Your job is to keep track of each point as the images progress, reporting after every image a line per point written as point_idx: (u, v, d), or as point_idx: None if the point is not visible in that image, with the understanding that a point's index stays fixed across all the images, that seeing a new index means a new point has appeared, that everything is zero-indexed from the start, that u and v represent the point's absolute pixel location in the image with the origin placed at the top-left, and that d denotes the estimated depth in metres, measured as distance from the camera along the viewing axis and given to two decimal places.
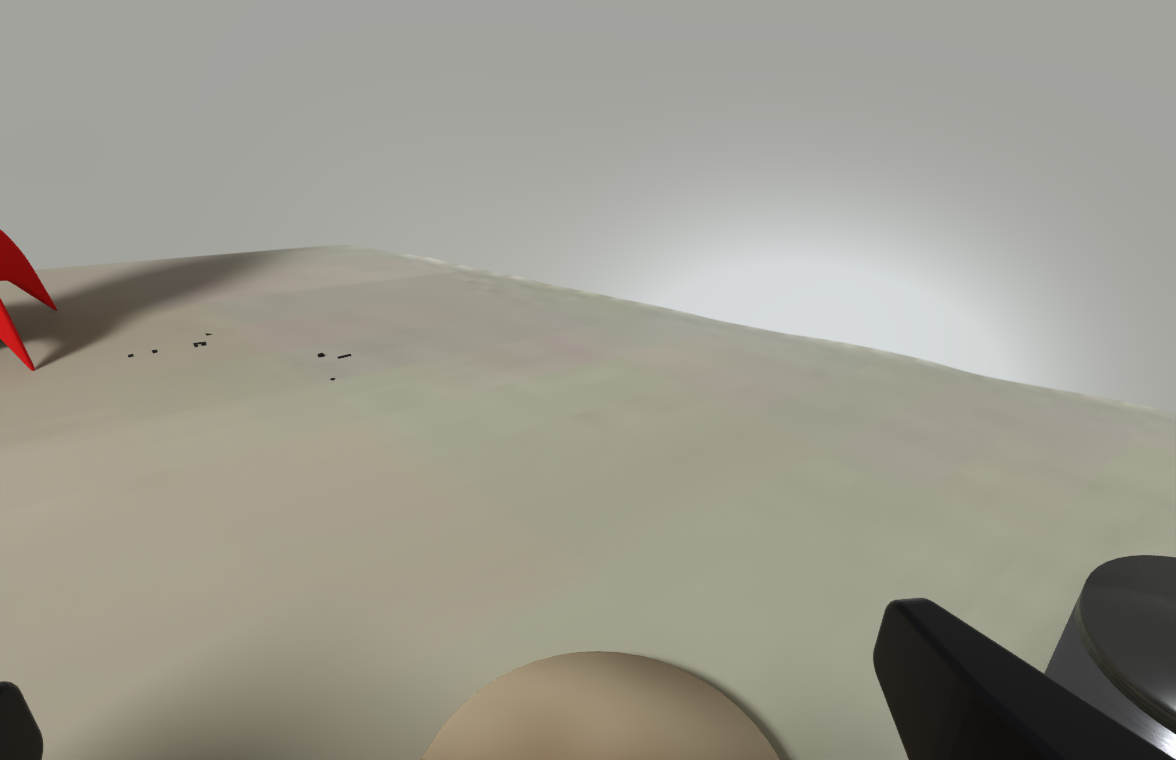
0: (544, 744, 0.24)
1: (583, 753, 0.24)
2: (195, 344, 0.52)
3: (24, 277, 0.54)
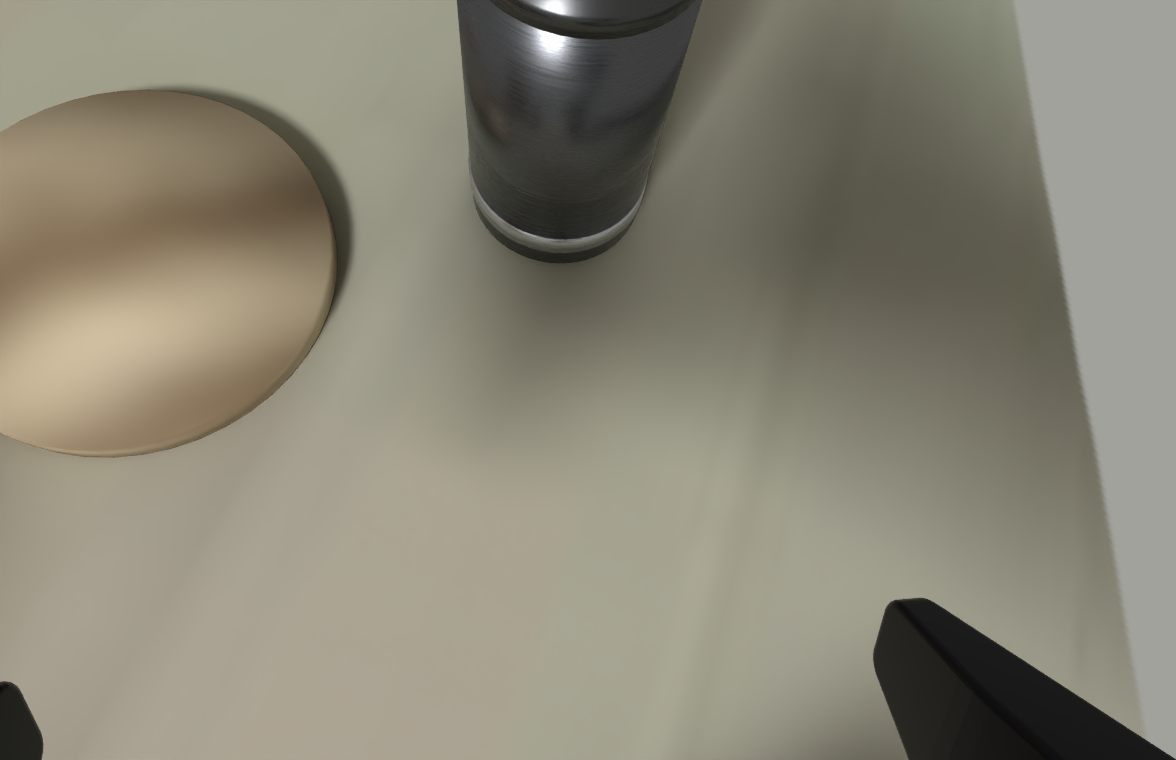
0: (40, 217, 0.22)
1: (87, 210, 0.22)
2: None
3: None
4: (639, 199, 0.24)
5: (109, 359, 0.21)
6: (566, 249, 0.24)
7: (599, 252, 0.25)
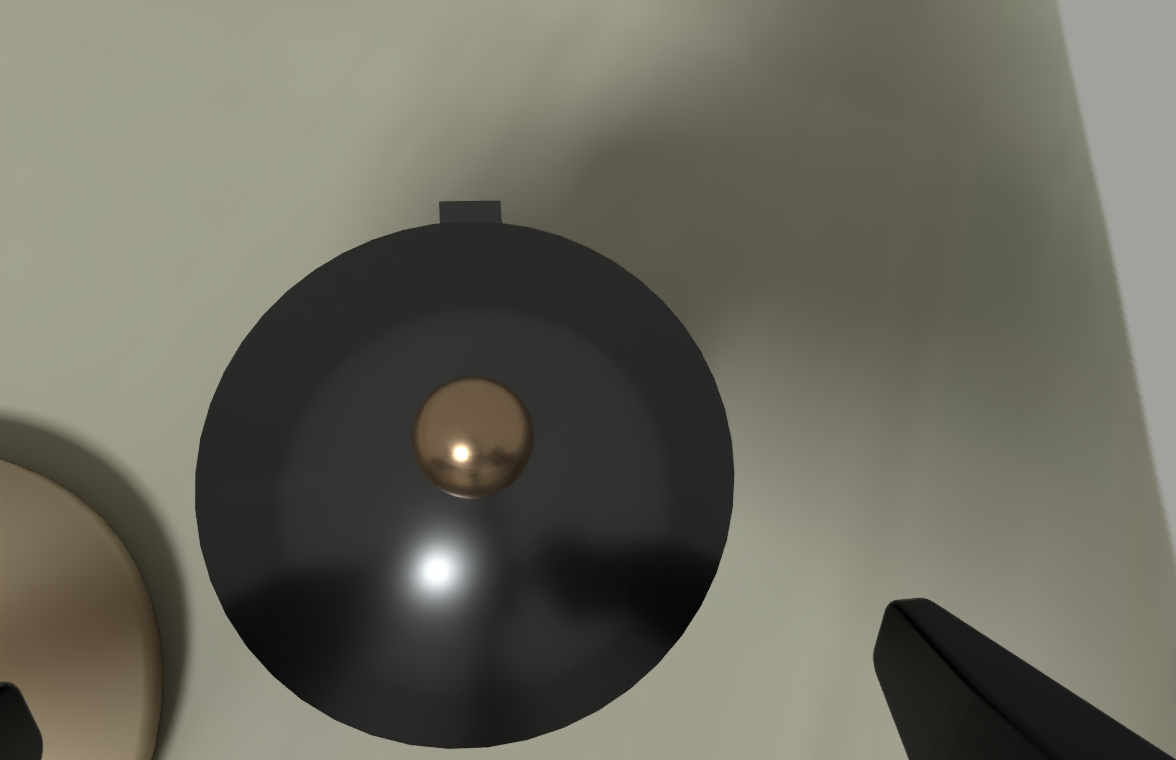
0: None
1: None
2: None
3: None
4: None
5: None
6: None
7: None
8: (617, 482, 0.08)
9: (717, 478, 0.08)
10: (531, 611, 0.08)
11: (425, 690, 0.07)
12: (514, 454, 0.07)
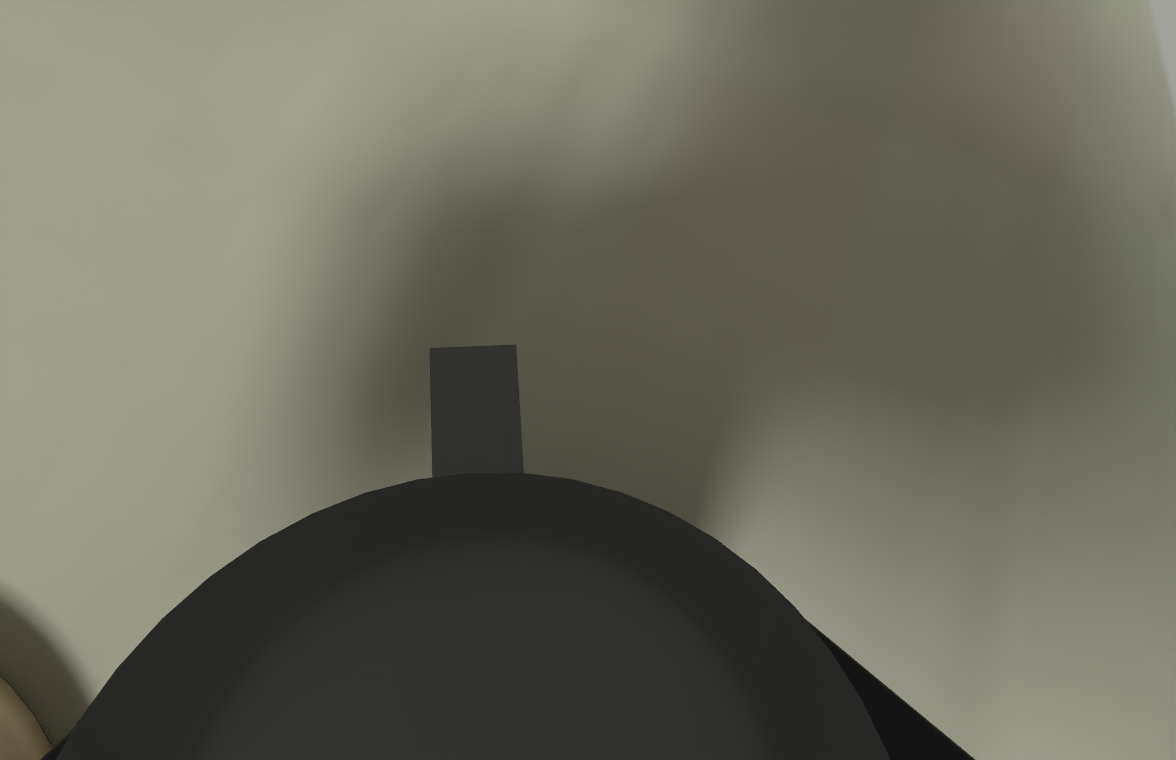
0: None
1: None
2: None
3: None
4: None
5: None
6: None
7: None
8: None
9: None
10: None
11: None
12: None
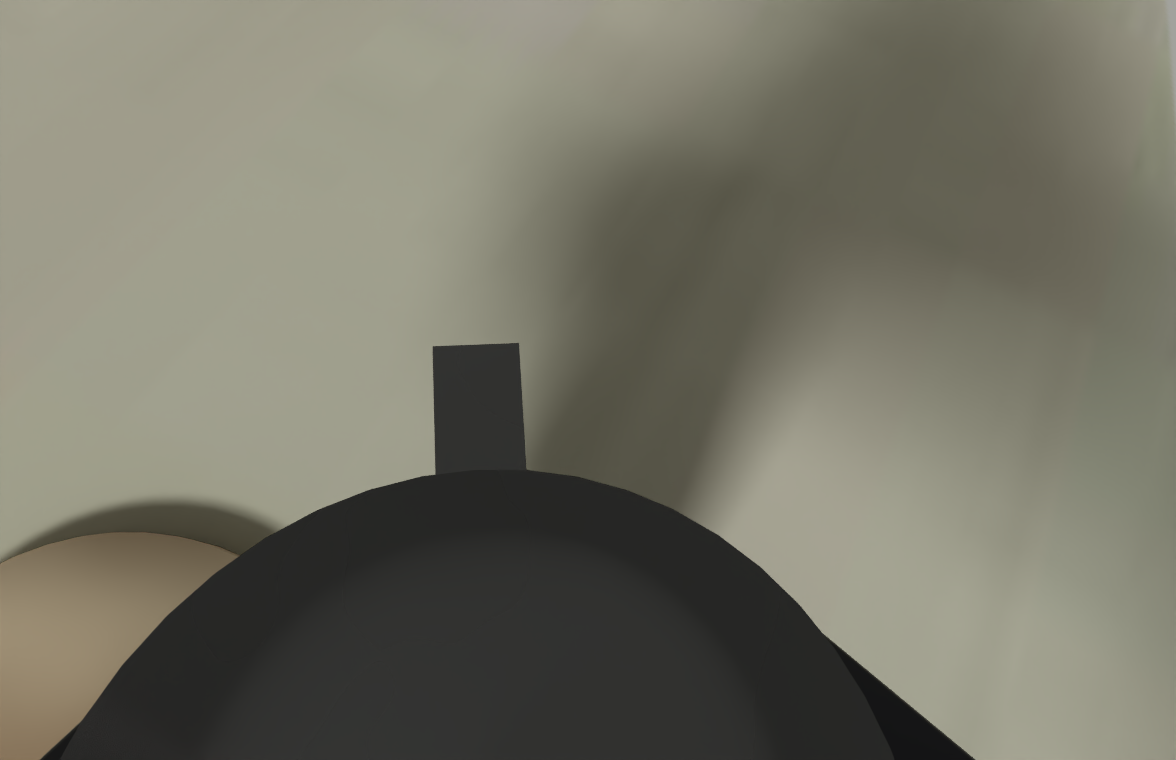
0: None
1: (47, 717, 0.18)
2: None
3: None
4: None
5: None
6: None
7: None
8: None
9: None
10: None
11: None
12: None
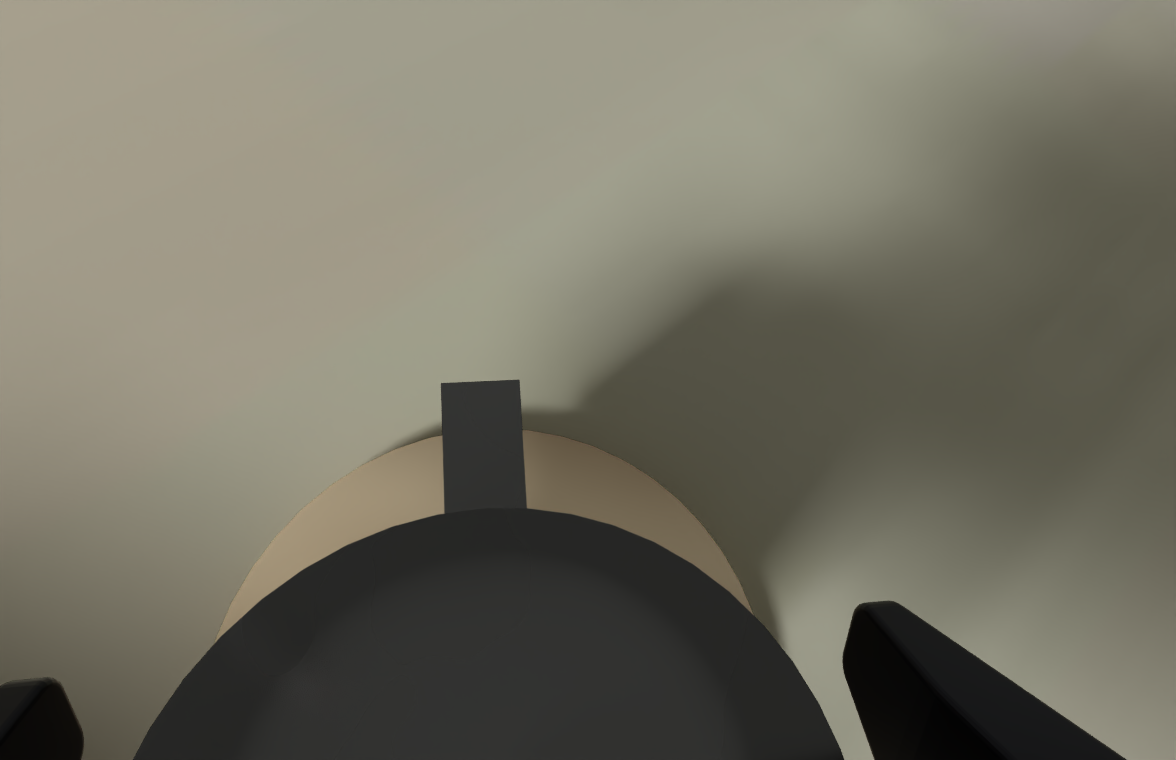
0: None
1: None
2: None
3: None
4: None
5: None
6: None
7: None
8: None
9: None
10: None
11: None
12: None
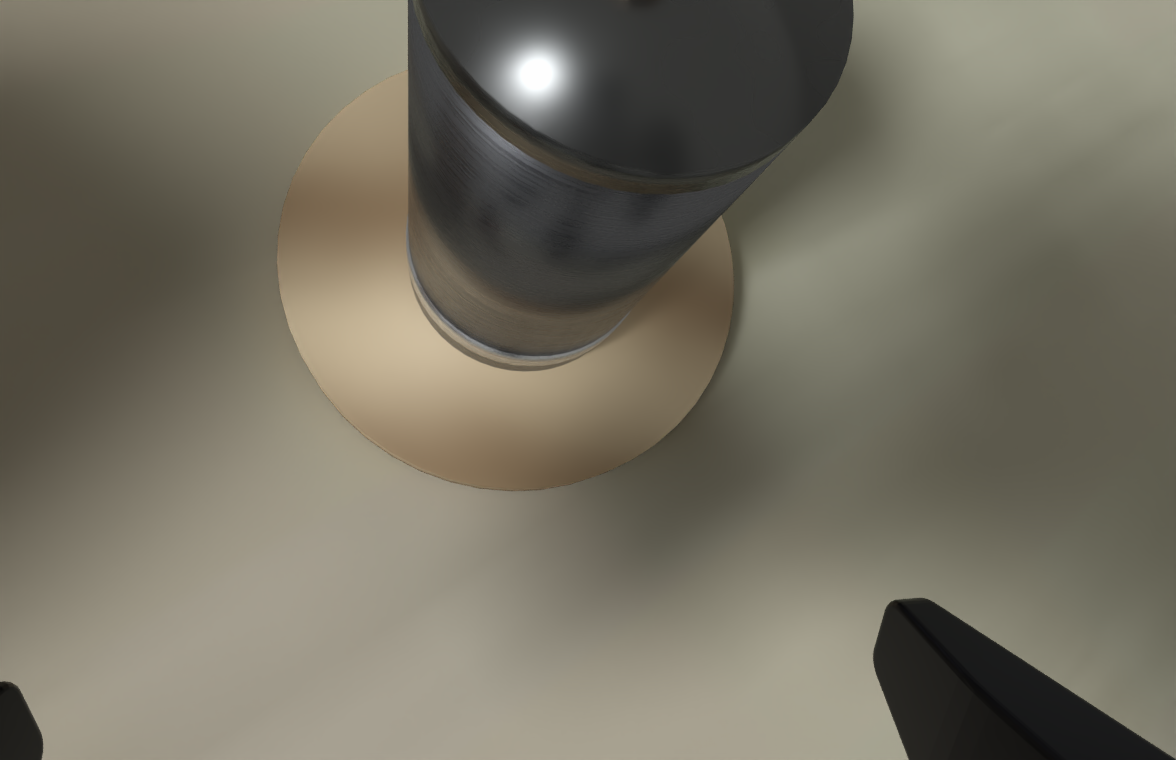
0: None
1: None
2: None
3: None
4: (626, 314, 0.18)
5: (452, 361, 0.18)
6: (516, 361, 0.18)
7: (560, 365, 0.19)
8: (757, 15, 0.09)
9: (837, 38, 0.10)
10: (675, 84, 0.09)
11: (582, 111, 0.09)
12: None
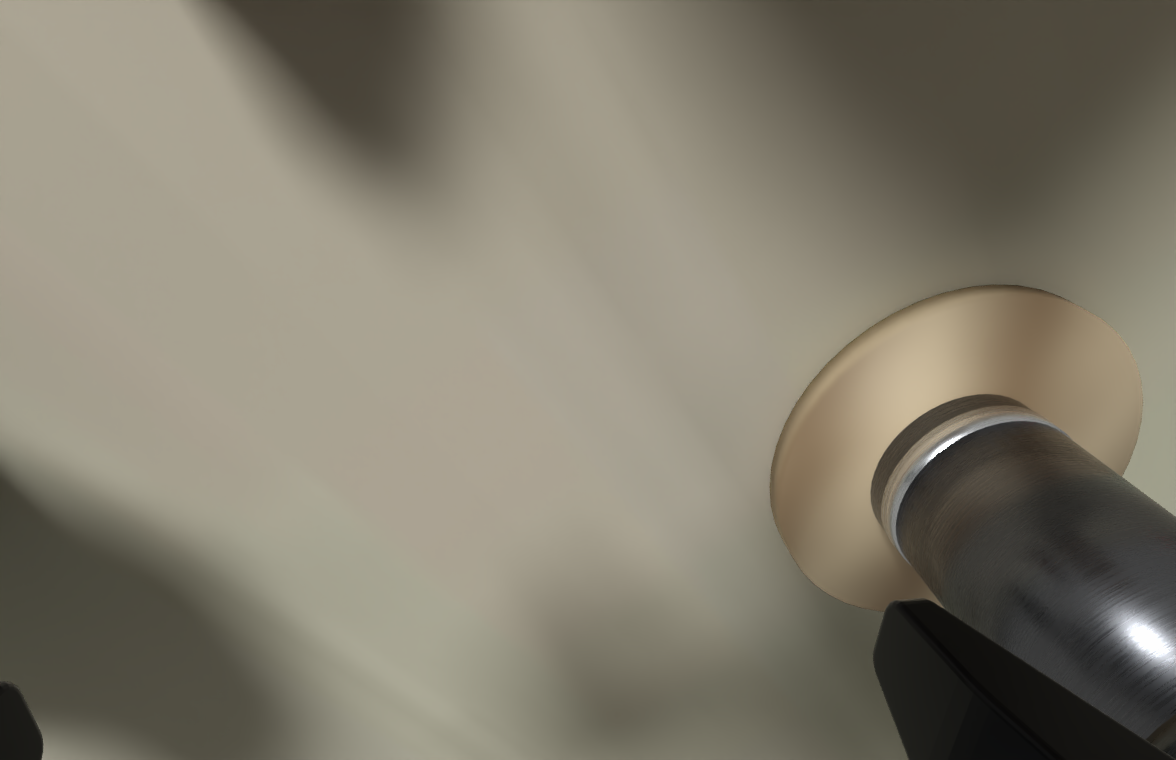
0: None
1: None
2: None
3: None
4: None
5: (887, 433, 0.22)
6: (888, 491, 0.22)
7: (873, 507, 0.24)
8: None
9: None
10: None
11: None
12: None
